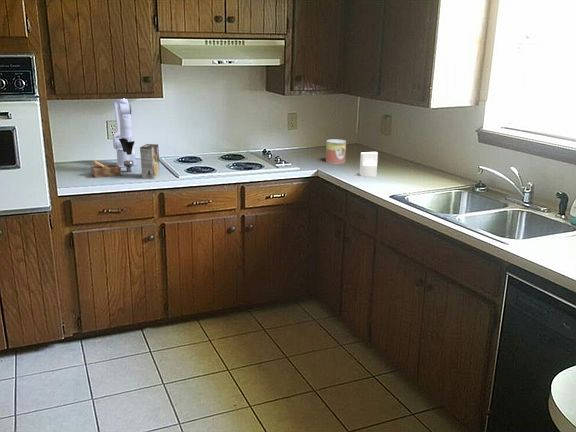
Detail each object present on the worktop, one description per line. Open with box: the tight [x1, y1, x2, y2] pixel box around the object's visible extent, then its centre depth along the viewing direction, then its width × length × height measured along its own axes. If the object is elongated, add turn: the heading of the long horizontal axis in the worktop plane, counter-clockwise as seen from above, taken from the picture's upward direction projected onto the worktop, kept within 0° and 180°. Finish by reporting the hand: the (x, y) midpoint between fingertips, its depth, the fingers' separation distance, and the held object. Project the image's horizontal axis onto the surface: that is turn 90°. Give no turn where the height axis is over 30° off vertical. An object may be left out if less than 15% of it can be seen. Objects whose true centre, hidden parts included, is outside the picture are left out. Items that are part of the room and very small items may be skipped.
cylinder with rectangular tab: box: [359, 151, 379, 178], centre depth 313 cm, size 9×9×12 cm
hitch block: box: [90, 163, 122, 179], centre depth 306 cm, size 13×10×4 cm
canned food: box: [325, 138, 347, 165], centre depth 343 cm, size 11×11×12 cm
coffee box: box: [139, 143, 161, 180], centre depth 301 cm, size 9×6×16 cm
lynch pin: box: [123, 160, 133, 173], centre depth 312 cm, size 5×5×6 cm
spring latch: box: [93, 159, 105, 167], centre depth 303 cm, size 5×4×1 cm
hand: (127, 153), depth 310 cm, fingers open, 7 cm apart
